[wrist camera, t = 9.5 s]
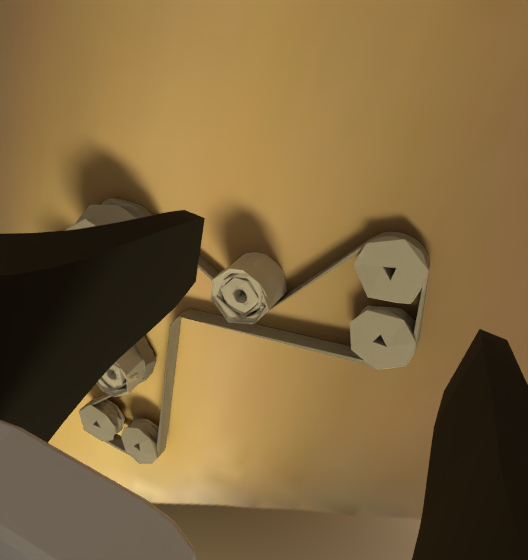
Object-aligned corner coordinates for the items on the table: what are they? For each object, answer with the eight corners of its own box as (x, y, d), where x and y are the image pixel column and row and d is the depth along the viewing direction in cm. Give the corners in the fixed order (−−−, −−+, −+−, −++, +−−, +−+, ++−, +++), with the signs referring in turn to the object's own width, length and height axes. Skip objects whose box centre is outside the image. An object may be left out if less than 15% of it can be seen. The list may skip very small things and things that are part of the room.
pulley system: (15, 296, 37) (139, 456, 38) (-44, 326, 33) (96, 503, 34) (291, 29, 21) (481, 315, 23) (240, 27, 17) (473, 373, 19)
